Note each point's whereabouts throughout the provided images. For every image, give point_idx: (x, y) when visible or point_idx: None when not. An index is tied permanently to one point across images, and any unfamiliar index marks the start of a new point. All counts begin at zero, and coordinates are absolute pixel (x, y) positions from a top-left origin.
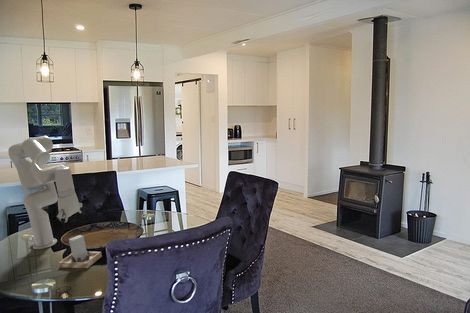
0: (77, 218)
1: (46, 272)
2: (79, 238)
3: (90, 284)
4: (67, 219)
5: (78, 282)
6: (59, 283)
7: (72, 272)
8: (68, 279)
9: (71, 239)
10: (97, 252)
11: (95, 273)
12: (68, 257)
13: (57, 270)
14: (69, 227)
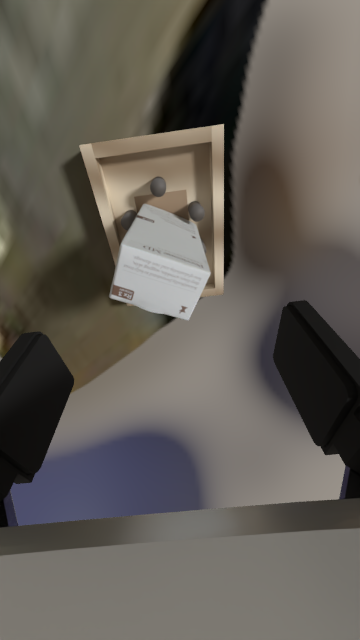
0: (299, 353)
1: (11, 99)
2: (160, 311)
3: (67, 363)
4: (12, 523)
5: (54, 330)
6: (10, 275)
7: (85, 261)
8: (45, 286)
9: (123, 275)
10: (216, 283)
11: (114, 340)
12: (149, 150)
13: (60, 162)
14: (69, 394)
